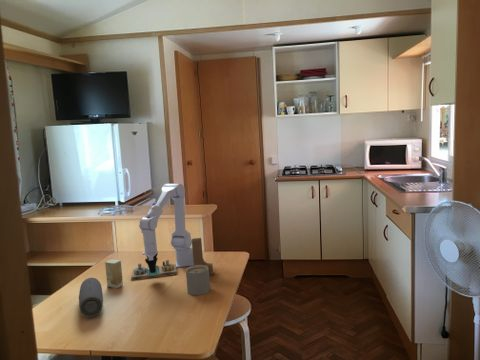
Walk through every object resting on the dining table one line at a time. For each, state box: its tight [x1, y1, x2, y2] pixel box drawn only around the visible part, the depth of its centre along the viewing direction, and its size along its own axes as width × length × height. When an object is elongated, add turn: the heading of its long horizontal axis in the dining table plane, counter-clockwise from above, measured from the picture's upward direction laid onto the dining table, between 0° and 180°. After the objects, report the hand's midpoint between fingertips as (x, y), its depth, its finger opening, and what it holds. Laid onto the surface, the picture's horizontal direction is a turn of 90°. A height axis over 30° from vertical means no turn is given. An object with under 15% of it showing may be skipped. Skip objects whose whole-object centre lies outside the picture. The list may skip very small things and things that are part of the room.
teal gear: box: [146, 264, 160, 276], centre depth 190 cm, size 6×6×3 cm
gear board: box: [130, 259, 178, 281], centre depth 202 cm, size 22×11×6 cm, turn 101°
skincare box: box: [104, 258, 124, 289], centre depth 189 cm, size 6×4×12 cm
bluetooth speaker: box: [78, 277, 104, 318], centre depth 166 cm, size 23×9×10 cm, turn 21°
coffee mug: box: [185, 265, 211, 296], centre depth 178 cm, size 13×10×10 cm
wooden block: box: [191, 237, 214, 276], centre depth 195 cm, size 9×4×18 cm, turn 95°
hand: (153, 270), depth 190 cm, fingers closed on teal gear, 6 cm apart
